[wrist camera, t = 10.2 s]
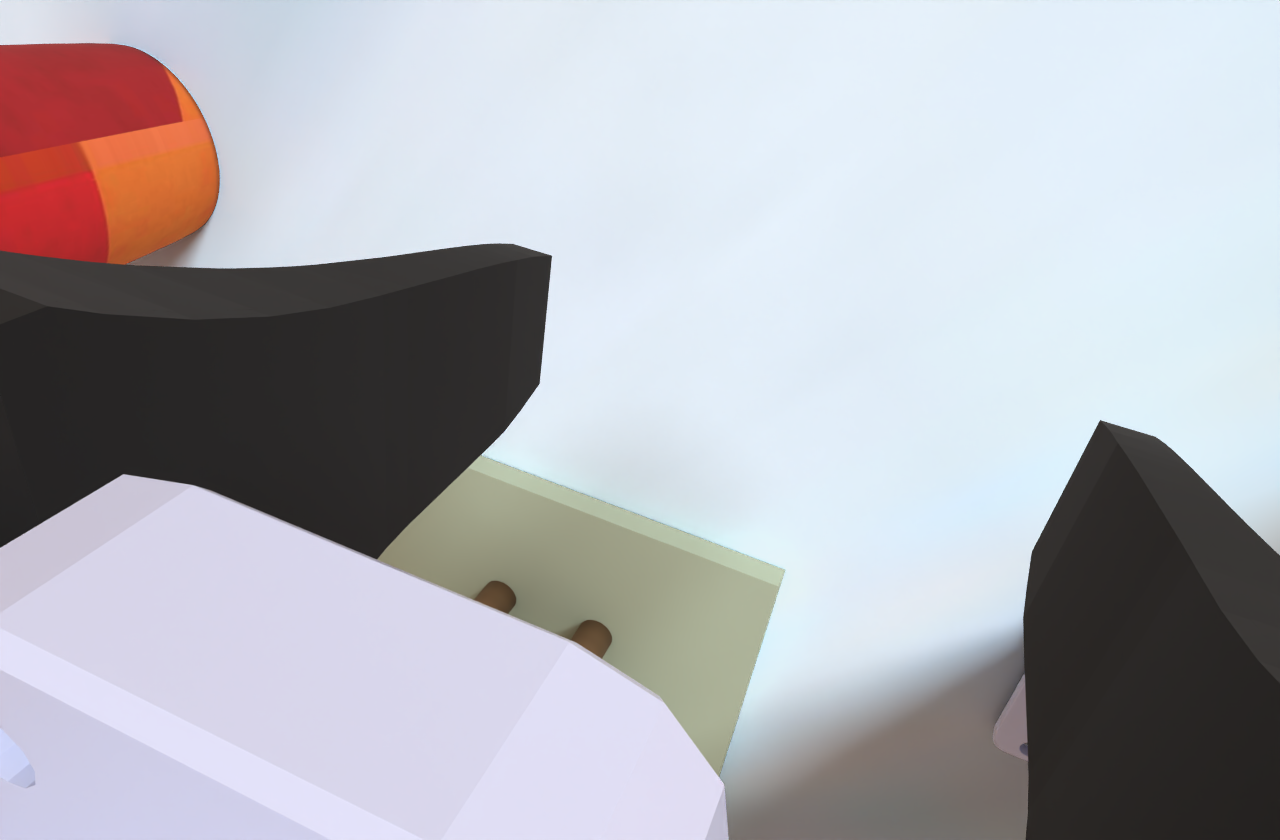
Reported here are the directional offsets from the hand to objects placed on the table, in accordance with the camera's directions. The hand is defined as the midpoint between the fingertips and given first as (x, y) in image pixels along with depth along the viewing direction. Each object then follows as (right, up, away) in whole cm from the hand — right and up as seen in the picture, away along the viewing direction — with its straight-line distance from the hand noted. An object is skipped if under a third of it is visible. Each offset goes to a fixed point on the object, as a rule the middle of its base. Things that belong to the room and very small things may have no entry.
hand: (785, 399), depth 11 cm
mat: (-5, -9, +20) cm, 23 cm away
